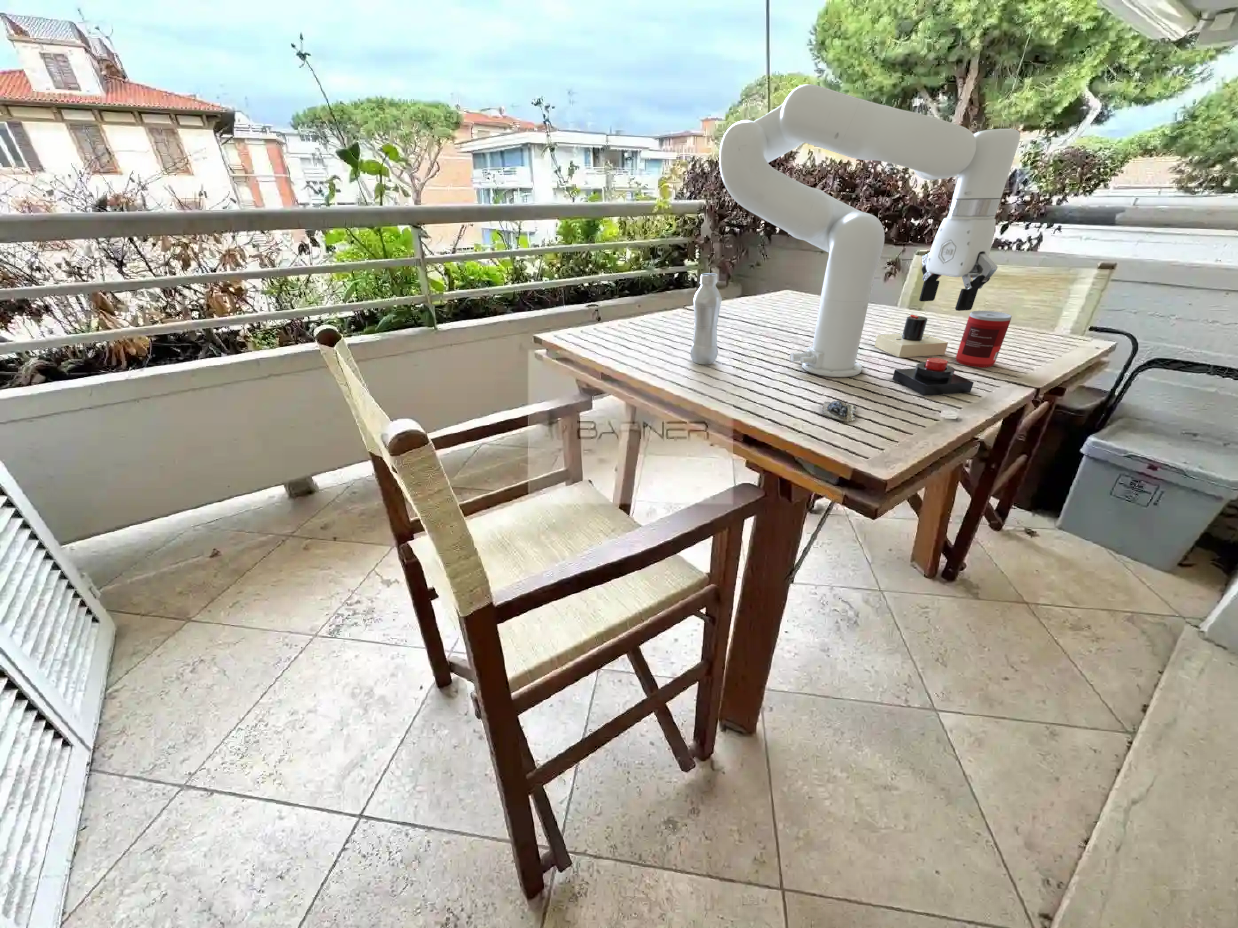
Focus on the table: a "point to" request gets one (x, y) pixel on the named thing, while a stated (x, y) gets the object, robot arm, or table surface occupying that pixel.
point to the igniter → (932, 380)
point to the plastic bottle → (706, 320)
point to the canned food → (982, 338)
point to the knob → (914, 328)
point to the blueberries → (839, 410)
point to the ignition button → (936, 364)
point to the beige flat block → (910, 345)
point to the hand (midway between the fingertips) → (943, 305)
